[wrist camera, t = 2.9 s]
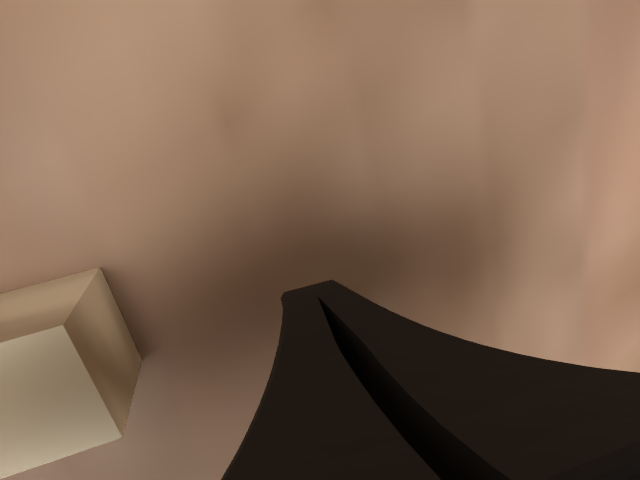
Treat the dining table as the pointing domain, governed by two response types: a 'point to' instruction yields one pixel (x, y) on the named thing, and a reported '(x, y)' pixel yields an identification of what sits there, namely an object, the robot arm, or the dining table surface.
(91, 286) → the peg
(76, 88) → the dining table surface
